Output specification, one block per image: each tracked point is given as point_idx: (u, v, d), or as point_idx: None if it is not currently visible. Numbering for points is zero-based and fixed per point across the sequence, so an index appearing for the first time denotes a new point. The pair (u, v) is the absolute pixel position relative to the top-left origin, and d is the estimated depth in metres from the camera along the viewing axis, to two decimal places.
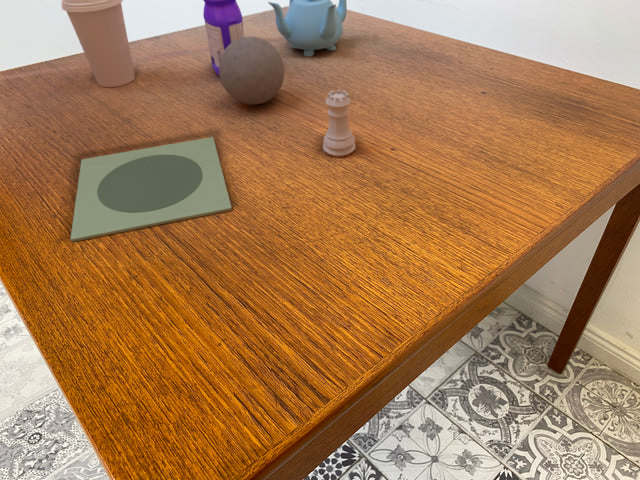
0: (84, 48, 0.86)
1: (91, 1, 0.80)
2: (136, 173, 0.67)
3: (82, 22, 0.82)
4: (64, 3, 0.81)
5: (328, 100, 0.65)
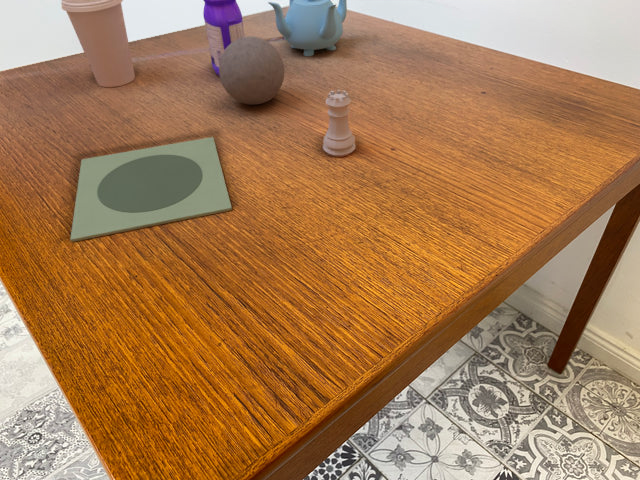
0: (84, 48, 0.86)
1: (91, 1, 0.80)
2: (136, 173, 0.67)
3: (82, 22, 0.82)
4: (64, 3, 0.81)
5: (328, 100, 0.65)
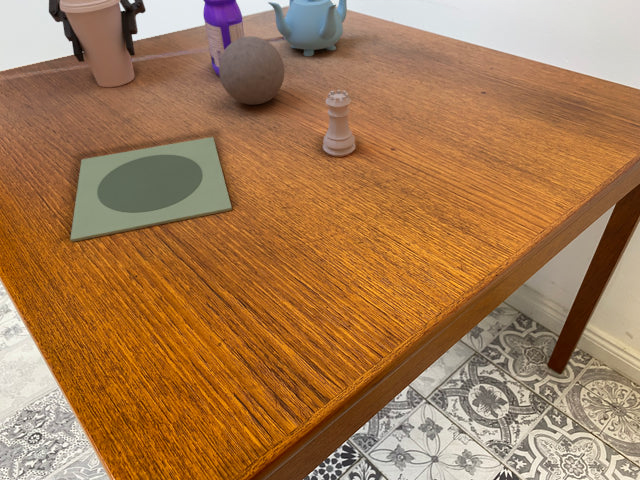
0: (83, 48, 0.86)
1: (89, 1, 0.80)
2: (136, 173, 0.67)
3: (80, 22, 0.82)
4: (62, 4, 0.81)
5: (328, 100, 0.65)
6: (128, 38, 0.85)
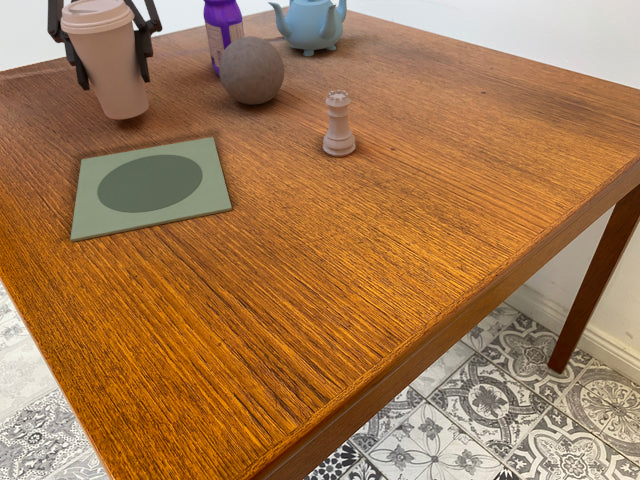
0: (89, 75, 0.72)
1: (97, 20, 0.66)
2: (136, 173, 0.67)
3: (86, 45, 0.68)
4: (64, 23, 0.67)
5: (328, 100, 0.65)
6: (143, 63, 0.72)
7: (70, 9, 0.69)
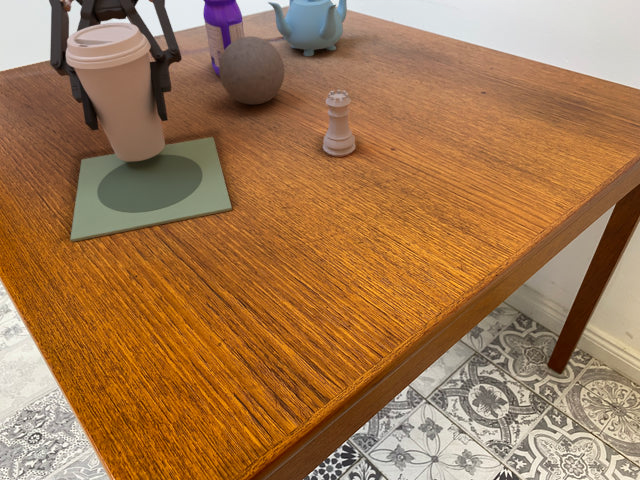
0: (98, 113, 0.62)
1: (108, 53, 0.57)
2: (136, 173, 0.67)
3: (95, 81, 0.59)
4: (70, 56, 0.58)
5: (328, 100, 0.65)
6: (160, 99, 0.62)
7: (77, 39, 0.59)
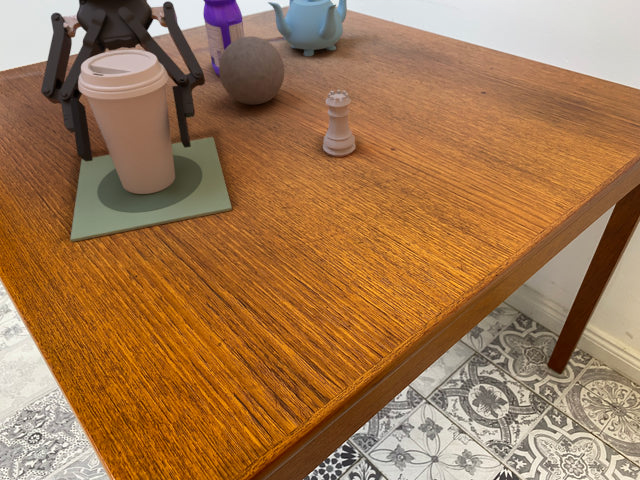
0: (107, 143, 0.59)
1: (124, 84, 0.53)
2: None
3: (107, 111, 0.55)
4: (83, 83, 0.54)
5: (328, 100, 0.65)
6: (183, 126, 0.59)
7: (91, 65, 0.56)
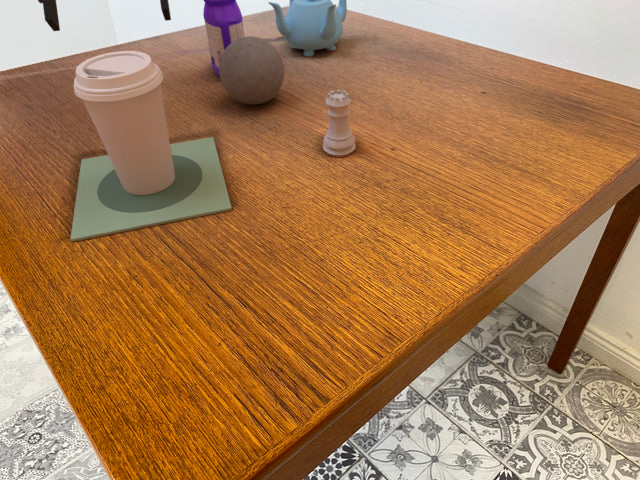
0: (106, 145, 0.59)
1: (118, 86, 0.53)
2: None
3: (103, 113, 0.55)
4: (78, 87, 0.54)
5: (328, 100, 0.65)
6: None
7: (86, 68, 0.56)
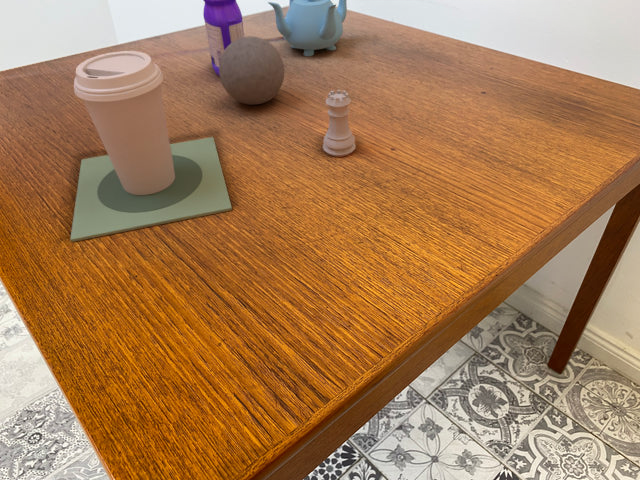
0: (106, 145, 0.59)
1: (118, 86, 0.53)
2: None
3: (103, 113, 0.55)
4: (78, 87, 0.54)
5: (328, 100, 0.65)
6: None
7: (86, 68, 0.56)
